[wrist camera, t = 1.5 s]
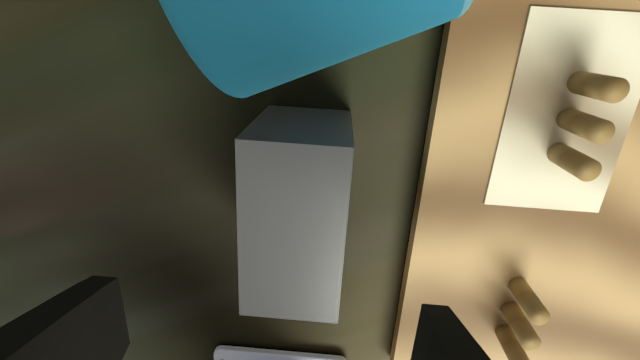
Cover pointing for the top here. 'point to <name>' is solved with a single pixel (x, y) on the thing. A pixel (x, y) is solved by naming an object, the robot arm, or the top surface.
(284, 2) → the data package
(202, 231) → the top surface
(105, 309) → the robot arm
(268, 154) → the block
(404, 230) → the top surface
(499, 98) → the board
